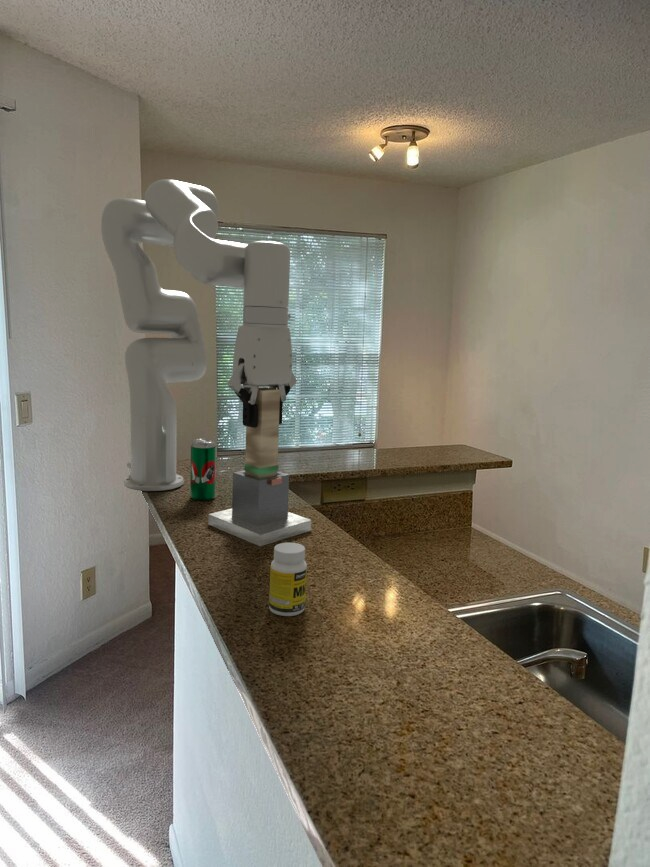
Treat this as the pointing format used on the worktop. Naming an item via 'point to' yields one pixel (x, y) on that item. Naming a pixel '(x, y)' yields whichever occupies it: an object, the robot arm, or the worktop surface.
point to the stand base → (260, 510)
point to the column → (264, 436)
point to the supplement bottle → (288, 580)
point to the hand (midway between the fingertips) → (262, 423)
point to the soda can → (203, 470)
